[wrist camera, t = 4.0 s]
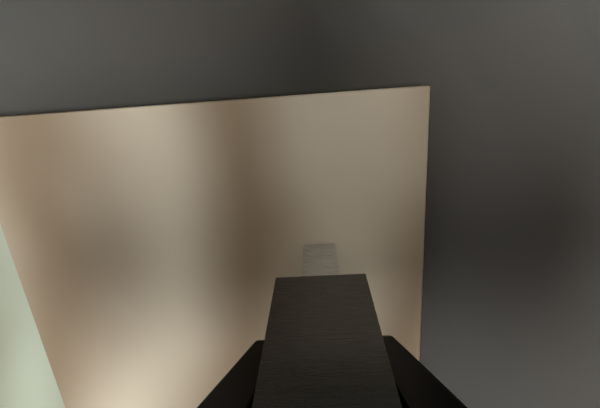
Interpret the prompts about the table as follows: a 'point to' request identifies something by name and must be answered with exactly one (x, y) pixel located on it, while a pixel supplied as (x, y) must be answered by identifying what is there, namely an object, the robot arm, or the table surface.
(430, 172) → the table surface
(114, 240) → the pale gradient board
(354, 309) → the brushed metal angle bracket
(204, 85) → the table surface
